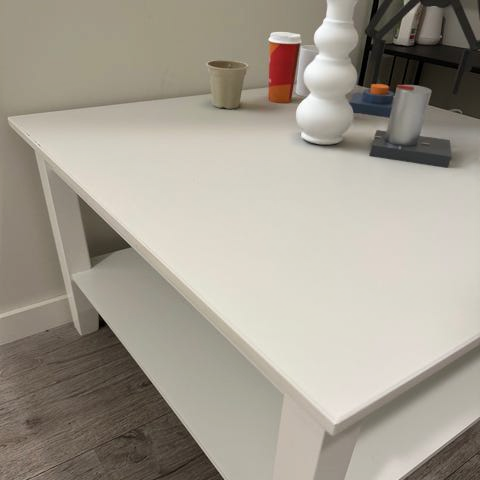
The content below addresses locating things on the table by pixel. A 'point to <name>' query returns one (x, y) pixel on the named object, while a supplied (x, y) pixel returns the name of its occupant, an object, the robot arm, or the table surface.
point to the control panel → (413, 150)
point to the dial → (407, 114)
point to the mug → (305, 59)
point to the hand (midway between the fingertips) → (413, 87)
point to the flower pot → (226, 82)
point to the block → (372, 103)
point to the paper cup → (282, 65)
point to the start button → (379, 89)
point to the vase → (330, 77)
